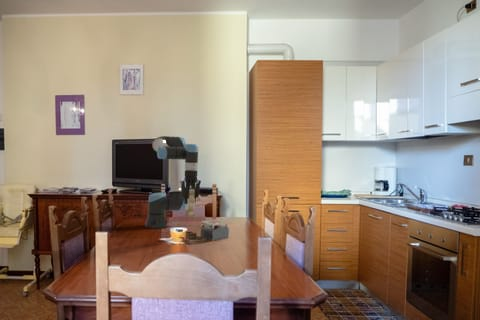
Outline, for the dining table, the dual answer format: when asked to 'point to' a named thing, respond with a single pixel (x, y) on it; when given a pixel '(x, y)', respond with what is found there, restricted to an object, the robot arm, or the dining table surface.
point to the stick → (190, 203)
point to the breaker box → (214, 230)
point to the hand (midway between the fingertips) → (189, 208)
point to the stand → (190, 234)
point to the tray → (194, 239)
